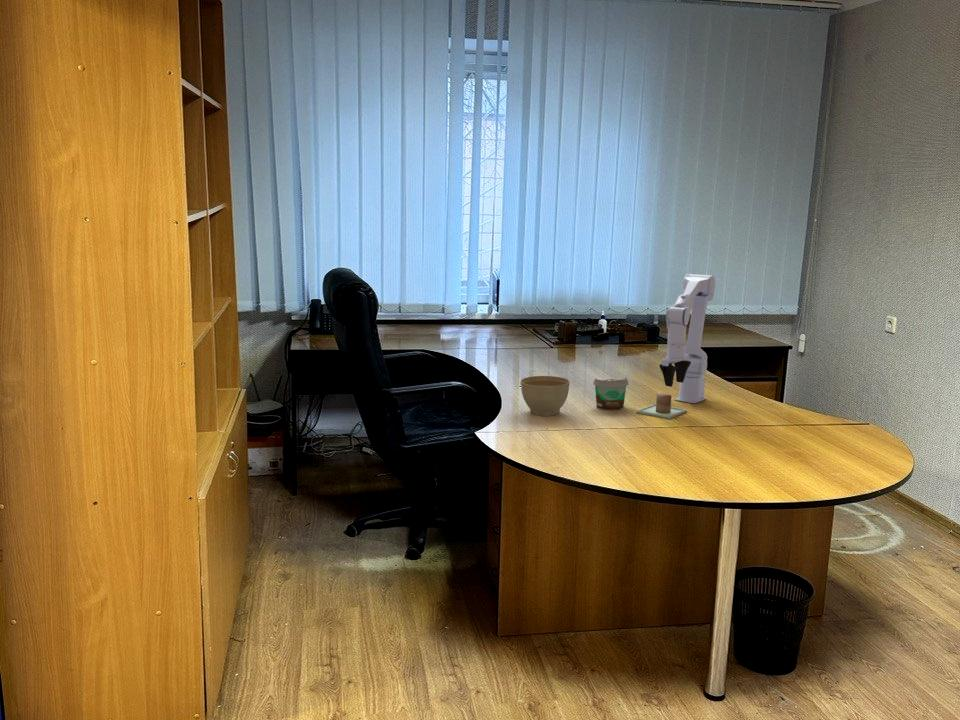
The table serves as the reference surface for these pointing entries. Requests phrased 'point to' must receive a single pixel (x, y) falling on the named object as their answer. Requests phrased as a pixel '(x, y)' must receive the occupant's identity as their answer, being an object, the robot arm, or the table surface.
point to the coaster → (652, 412)
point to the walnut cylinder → (663, 403)
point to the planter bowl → (545, 394)
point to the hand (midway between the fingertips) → (674, 384)
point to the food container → (610, 393)
